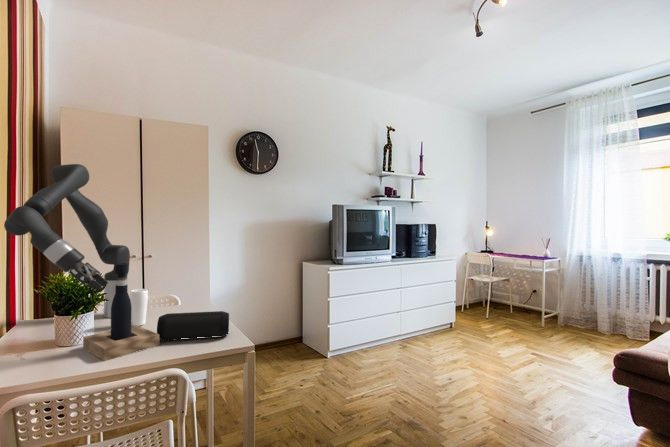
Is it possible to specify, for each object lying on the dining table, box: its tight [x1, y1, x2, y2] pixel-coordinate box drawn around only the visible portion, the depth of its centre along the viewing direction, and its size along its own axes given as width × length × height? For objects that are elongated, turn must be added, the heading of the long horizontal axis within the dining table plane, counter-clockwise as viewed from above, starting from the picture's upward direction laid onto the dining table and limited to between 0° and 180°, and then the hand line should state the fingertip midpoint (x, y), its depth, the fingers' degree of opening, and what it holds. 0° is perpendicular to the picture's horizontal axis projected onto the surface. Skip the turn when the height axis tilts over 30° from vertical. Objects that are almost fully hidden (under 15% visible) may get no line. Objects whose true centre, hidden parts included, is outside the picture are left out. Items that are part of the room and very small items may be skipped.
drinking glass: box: [129, 288, 149, 326], centre depth 153 cm, size 7×7×15 cm
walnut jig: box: [82, 325, 160, 362], centre depth 128 cm, size 18×18×4 cm
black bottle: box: [110, 263, 132, 341], centre depth 127 cm, size 6×6×30 cm
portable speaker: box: [156, 310, 230, 341], centre depth 139 cm, size 26×10×10 cm, turn 105°
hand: (103, 287), depth 125 cm, fingers open, 8 cm apart
